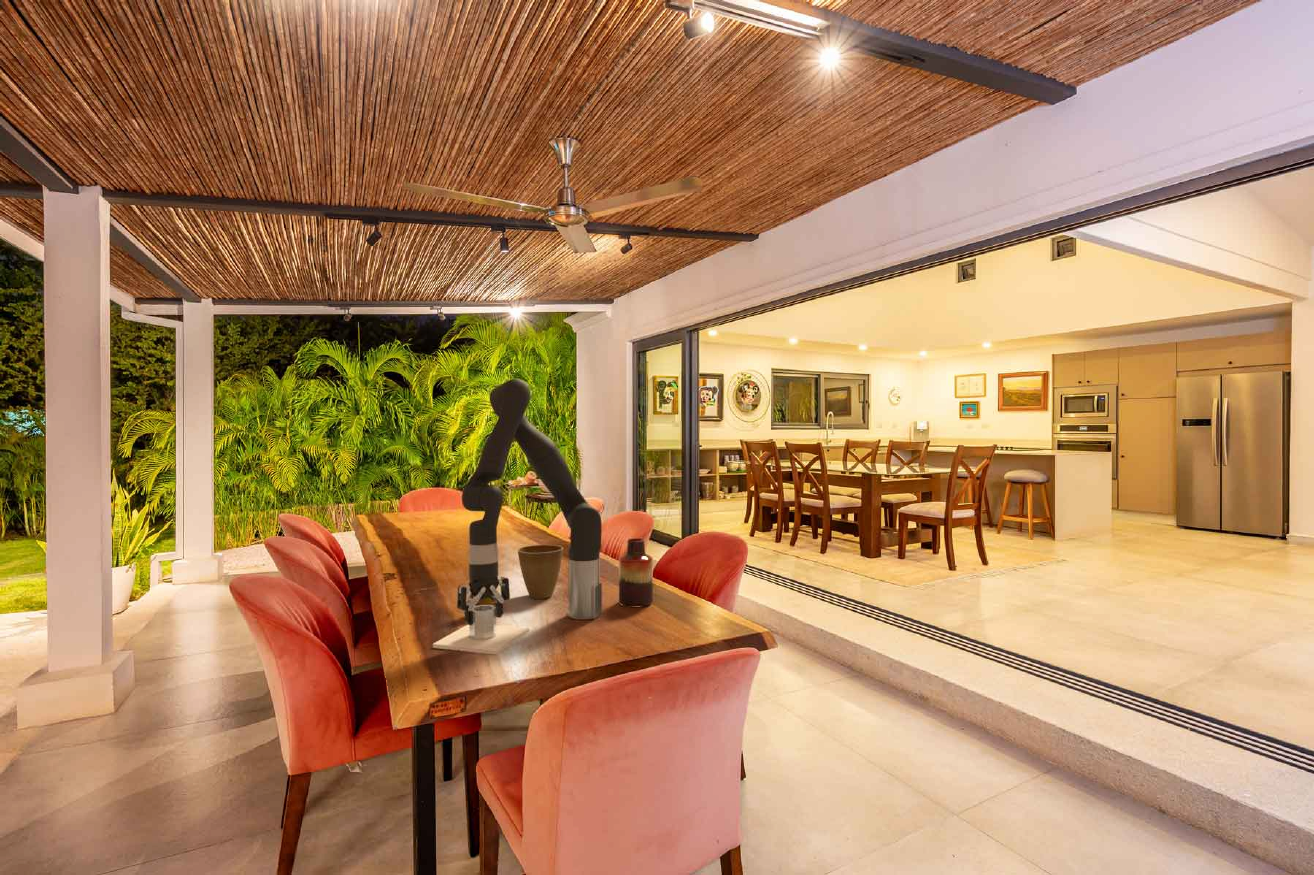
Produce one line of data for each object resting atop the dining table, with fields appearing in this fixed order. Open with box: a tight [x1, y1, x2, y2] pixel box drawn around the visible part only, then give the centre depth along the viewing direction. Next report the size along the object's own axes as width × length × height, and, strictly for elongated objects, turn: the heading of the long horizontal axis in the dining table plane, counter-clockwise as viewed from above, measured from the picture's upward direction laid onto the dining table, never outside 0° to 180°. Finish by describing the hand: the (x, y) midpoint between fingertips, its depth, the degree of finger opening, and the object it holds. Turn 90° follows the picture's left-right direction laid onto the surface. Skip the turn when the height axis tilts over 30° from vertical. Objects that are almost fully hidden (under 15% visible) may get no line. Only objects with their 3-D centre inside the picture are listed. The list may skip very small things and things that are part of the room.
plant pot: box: [517, 544, 564, 600], centre depth 210 cm, size 15×15×16 cm
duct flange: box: [432, 624, 530, 655], centre depth 168 cm, size 18×18×6 cm
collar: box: [469, 605, 497, 639], centre depth 167 cm, size 6×6×7 cm
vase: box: [618, 537, 654, 607], centre depth 202 cm, size 11×11×20 cm
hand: (484, 620), depth 167 cm, fingers open, 8 cm apart
